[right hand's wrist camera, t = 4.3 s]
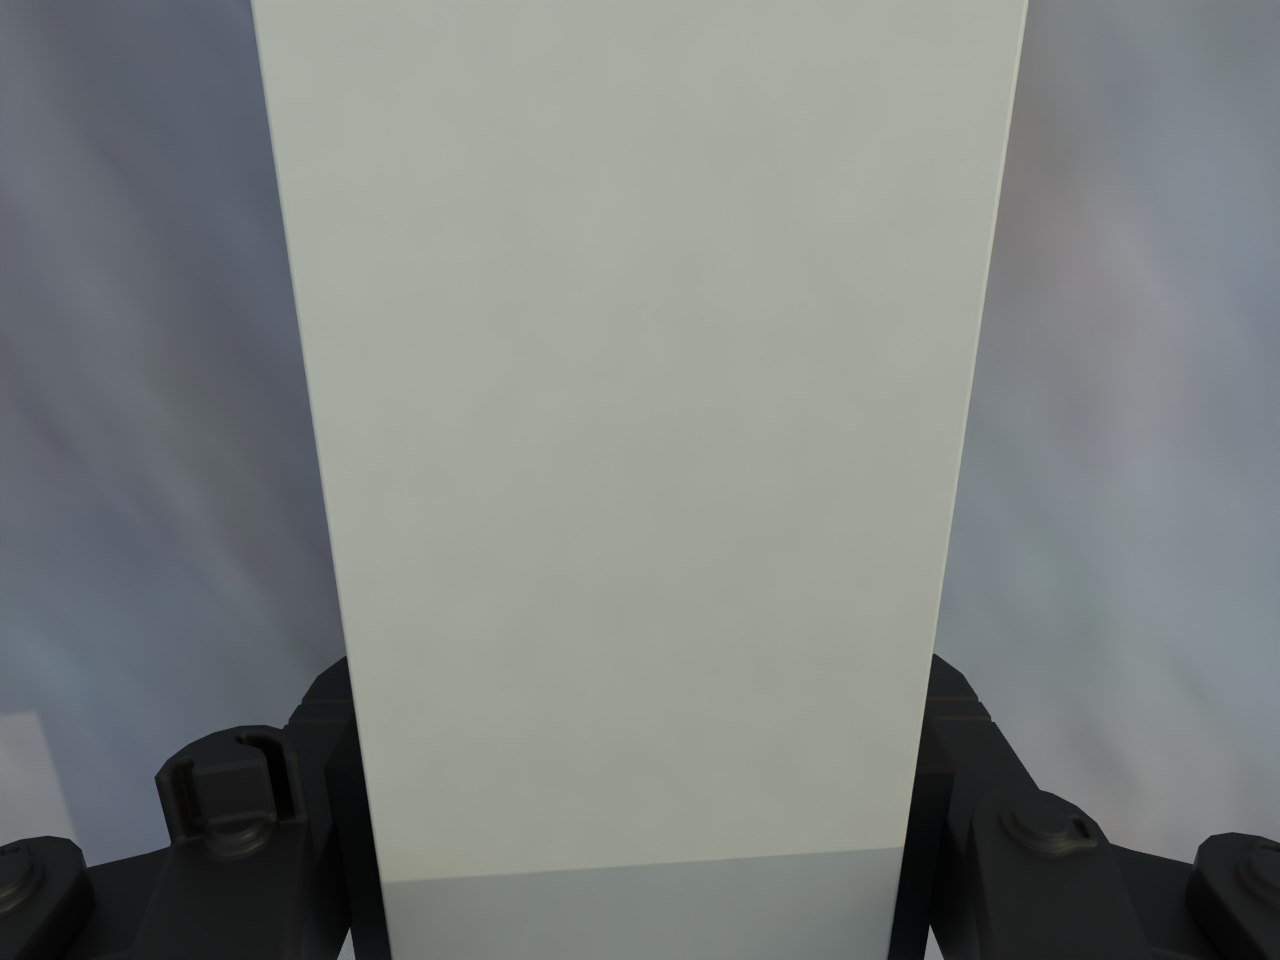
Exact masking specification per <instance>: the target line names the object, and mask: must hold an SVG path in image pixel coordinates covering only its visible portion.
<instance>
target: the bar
mask: <svg viewBox="0 0 1280 960" xmlns="http://www.w3.org/2000/svg"><path fill="white" fill-rule="evenodd" d="M1028 1H1029V0H250V2H251V8H252V15H253V22H254V29H255V36H256V42H257V49H258V56H259V63H260V70H261V76H262V83H263V90H264V97H265V103H266V110H267V117H268V124H269V131H270V137H271V144H272V151H273V158H274V165H275V171H276V178H277V185H278V192H279V199H280V205H281V212H282V219H283V226H284V232H285V239H286V246H287V253H288V260H289V266H290V273H291V280H292V287H293V294H294V300H295V307H296V314H297V321H298V327H299V334H300V341H301V348H302V355H303V361H304V368H305V375H306V382H307V389H308V395H309V402H310V409H311V416H312V422H313V429H314V436H315V443H316V450H317V456H318V463H319V470H320V477H321V484H322V490H323V497H324V504H325V511H326V518H327V524H328V531H329V538H330V545H331V551H332V558H333V565H334V572H335V579H336V585H337V592H338V599H339V606H340V613H341V619H342V626H343V633H344V640H345V646H346V653H347V660H348V667H349V674H350V680H351V687H352V694H353V701H354V708H355V714H356V721H357V728H358V735H359V741H360V748H361V755H362V762H363V769H364V775H365V782H366V789H367V796H368V803H369V809H370V816H371V823H372V830H373V836H374V843H375V850H376V857H377V864H378V870H379V877H380V884H381V891H382V898H383V904H384V911H385V918H386V925H387V932H388V938H389V945H390V952H391V959H392V960H888V953H889V946H890V940H891V933H892V926H893V919H894V912H895V906H896V899H897V892H898V885H899V878H900V872H901V865H902V858H903V851H904V844H905V838H906V831H907V824H908V817H909V810H910V804H911V797H912V790H913V783H914V776H915V770H916V763H917V756H918V749H919V742H920V736H921V729H922V722H923V715H924V708H925V702H926V695H927V688H928V681H929V674H930V668H931V661H932V654H933V647H934V640H935V634H936V627H937V620H938V613H939V606H940V600H941V593H942V586H943V579H944V572H945V566H946V559H947V552H948V545H949V538H950V532H951V525H952V518H953V511H954V504H955V498H956V491H957V484H958V477H959V470H960V464H961V457H962V450H963V443H964V436H965V430H966V423H967V416H968V409H969V402H970V396H971V389H972V382H973V375H974V368H975V362H976V355H977V348H978V341H979V334H980V328H981V321H982V314H983V307H984V300H985V294H986V287H987V280H988V273H989V266H990V260H991V253H992V246H993V239H994V232H995V226H996V219H997V212H998V205H999V198H1000V192H1001V185H1002V178H1003V171H1004V164H1005V158H1006V151H1007V144H1008V137H1009V131H1010V124H1011V117H1012V110H1013V103H1014V96H1015V90H1016V83H1017V76H1018V69H1019V62H1020V56H1021V49H1022V42H1023V35H1024V29H1025V22H1026V15H1027V8H1028Z"/></svg>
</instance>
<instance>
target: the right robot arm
mask: <svg viewBox="0 0 1280 960" xmlns="http://www.w3.org/2000/svg"><path fill="white" fill-rule="evenodd" d="M154 778H155V782H156V785H157V789H158V793H159V797H160V801H161V805H162V808H163V812H164V816H165V820H166V824H167V828H168V832H169V835H170V839H171V845H170V847H167V848H164V849H160V850H157V851H154V852H151V853H147V854H143V855H139V856H135V857H130V858H126V859H122V860H118V861H114V862H109V863H105V864H101V865H97V866H92V867H88V868H87V866H86V863H85V859H84V856H83V853H82V850H81V849H80V848H79V847H78V846H77V845H76V844H75V843H73V842H72V841H71V840H70V839H66V838H60V837H53V836H42V837H35V838H28V839H21V840H18V841H15V842H12V843H9V844H7V845H4V846H1V847H0V960H337V958H338V956H339V953H340V951H341V948H342V946H343V943H344V940H345V938H346V935H347V933H348V930H349V928H350V929H351V935H352V941H353V947H354V953H355V959H356V960H392V959H391V952H390V945H389V938H388V932H387V925H386V918H385V911H384V904H383V898H382V891H381V884H380V877H379V870H378V864H377V857H376V850H375V843H374V836H373V830H372V823H371V816H370V809H369V803H368V796H367V789H366V782H365V775H364V769H363V762H362V755H361V748H360V741H359V735H358V728H357V721H356V714H355V708H354V701H353V694H352V687H351V680H350V674H349V667H348V660H347V656H345V657H343V658H342V659H340V660H339V661H338V662H336V663H335V664H334V665H332V666H331V667H330V668H328V669H327V670H326V671H324V672H323V673H322V674H320V675H319V676H317V678H316V679H315V681H314V682H313V684H312V685H311V687H310V689H309V690H308V692H307V693H306V695H305V696H304V698H303V699H302V704H301V705H298V707H297V708H296V710H295V711H294V713H293V714H292V716H291V717H290V719H289V724H288V725H285V726H284V728H283V729H278V728H274V727H270V726H267V725H251V726H238V727H234V728H230V729H226V730H222V731H218V732H214V733H212V734H210V735H208V736H205V737H203V738H201V739H199V740H197V741H195V742H192V743H190V744H188V745H187V746H186V747H184V748H183V749H181V750H180V751H179V752H177V753H176V754H175V755H173V756H172V757H171V758H169V759H168V760H167V761H166V763H165V764H164V765H163V767H162V768H161V769H160V771H159V772H158V773H157V775H156V776H155V777H154ZM930 925H931V928H932V930H933V933H934V935H935V938H936V940H937V943H938V945H939V948H940V950H941V953H942V955H943V958H944V960H1280V843H1278V842H1275V841H1272V840H1270V839H1267V838H1264V837H1261V836H1255V835H1248V834H1241V833H1234V832H1231V833H1224V834H1218V835H1212V836H1210V837H1209V838H1208V839H1207V840H1205V841H1204V842H1203V843H1202V844H1201V845H1200V846H1199V848H1198V851H1197V854H1196V857H1195V860H1194V864H1189V863H1185V862H1180V861H1176V860H1172V859H1168V858H1163V857H1159V856H1155V855H1151V854H1146V853H1142V852H1138V851H1134V850H1130V849H1127V848H1124V847H1120V846H1117V845H1114V844H1111V843H1109V841H1108V840H1107V838H1106V836H1105V835H1104V833H1103V832H1102V830H1101V829H1100V827H1099V826H1098V824H1097V823H1096V822H1095V821H1094V820H1093V819H1092V818H1090V817H1089V816H1088V815H1087V814H1086V813H1084V812H1083V811H1082V810H1081V809H1080V808H1079V807H1077V806H1076V805H1074V804H1072V803H1070V802H1068V801H1066V800H1064V799H1062V798H1060V797H1058V796H1057V795H1055V794H1053V793H1049V792H1046V791H1042V790H1039V788H1038V787H1037V785H1036V784H1035V782H1034V781H1033V779H1032V778H1031V776H1030V775H1029V773H1028V772H1027V770H1026V769H1025V767H1024V766H1023V764H1022V763H1021V761H1020V760H1019V758H1018V757H1017V755H1016V754H1015V752H1014V751H1013V749H1012V748H1011V746H1010V745H1009V743H1008V742H1007V740H1006V739H1005V737H1004V736H1003V734H1002V733H1001V731H1000V730H999V728H998V727H997V725H996V724H995V722H992V721H991V716H990V715H989V713H988V712H987V710H986V709H985V707H984V706H983V704H982V703H981V702H978V697H977V695H976V694H975V692H974V691H973V689H972V688H971V686H970V685H969V683H968V682H967V680H966V678H965V677H964V675H963V674H962V673H960V672H959V671H958V670H956V669H955V668H954V667H952V666H951V665H950V664H948V663H947V662H945V661H944V660H943V659H941V658H940V657H939V656H937V655H936V654H932V661H931V668H930V674H929V681H928V688H927V695H926V702H925V708H924V715H923V722H922V729H921V736H920V742H919V749H918V756H917V763H916V770H915V776H914V783H913V790H912V797H911V804H910V810H909V817H908V824H907V831H906V838H905V844H904V851H903V858H902V865H901V872H900V878H899V885H898V892H897V899H896V906H895V912H894V919H893V926H892V933H891V940H890V946H889V953H888V960H924V956H925V950H926V944H927V938H928V932H929V926H930Z"/></svg>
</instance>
